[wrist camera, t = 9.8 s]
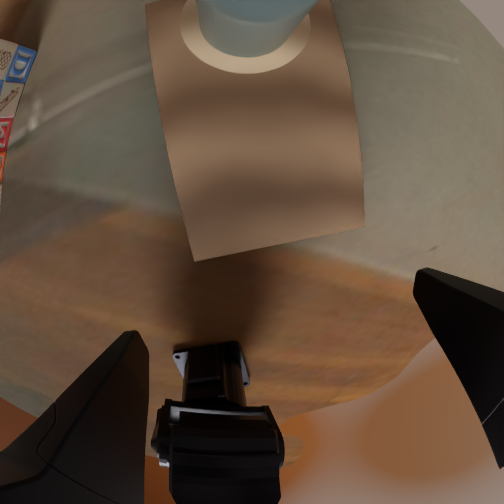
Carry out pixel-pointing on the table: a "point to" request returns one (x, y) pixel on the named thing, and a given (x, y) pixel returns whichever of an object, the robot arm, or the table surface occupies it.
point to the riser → (257, 133)
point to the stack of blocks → (11, 88)
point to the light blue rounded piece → (250, 24)
